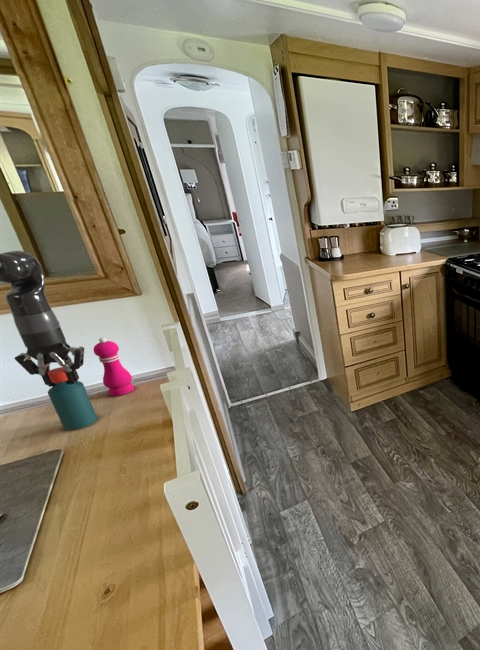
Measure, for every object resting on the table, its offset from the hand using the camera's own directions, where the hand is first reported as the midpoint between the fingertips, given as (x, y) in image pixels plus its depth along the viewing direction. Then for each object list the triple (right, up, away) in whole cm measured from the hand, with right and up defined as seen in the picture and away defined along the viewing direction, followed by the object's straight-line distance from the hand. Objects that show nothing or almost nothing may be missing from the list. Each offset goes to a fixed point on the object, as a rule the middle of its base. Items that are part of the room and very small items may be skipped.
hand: (63, 383), depth 107 cm
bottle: (0, -12, +5) cm, 13 cm away
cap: (0, +1, 0) cm, 1 cm away
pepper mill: (-4, -6, +22) cm, 23 cm away
